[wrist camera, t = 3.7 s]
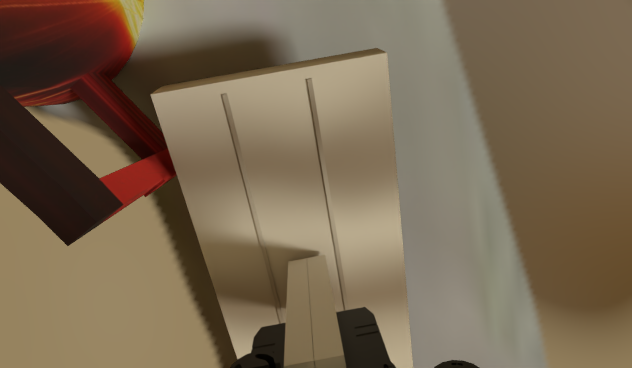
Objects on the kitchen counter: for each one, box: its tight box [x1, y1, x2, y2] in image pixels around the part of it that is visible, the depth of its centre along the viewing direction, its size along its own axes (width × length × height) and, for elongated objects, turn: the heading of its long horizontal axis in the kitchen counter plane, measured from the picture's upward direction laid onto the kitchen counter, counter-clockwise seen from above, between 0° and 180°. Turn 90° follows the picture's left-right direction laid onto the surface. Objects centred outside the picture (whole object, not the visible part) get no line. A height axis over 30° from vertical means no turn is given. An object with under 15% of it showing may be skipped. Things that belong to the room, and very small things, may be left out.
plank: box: [151, 48, 413, 368], centre depth 18 cm, size 18×8×2 cm, turn 10°
